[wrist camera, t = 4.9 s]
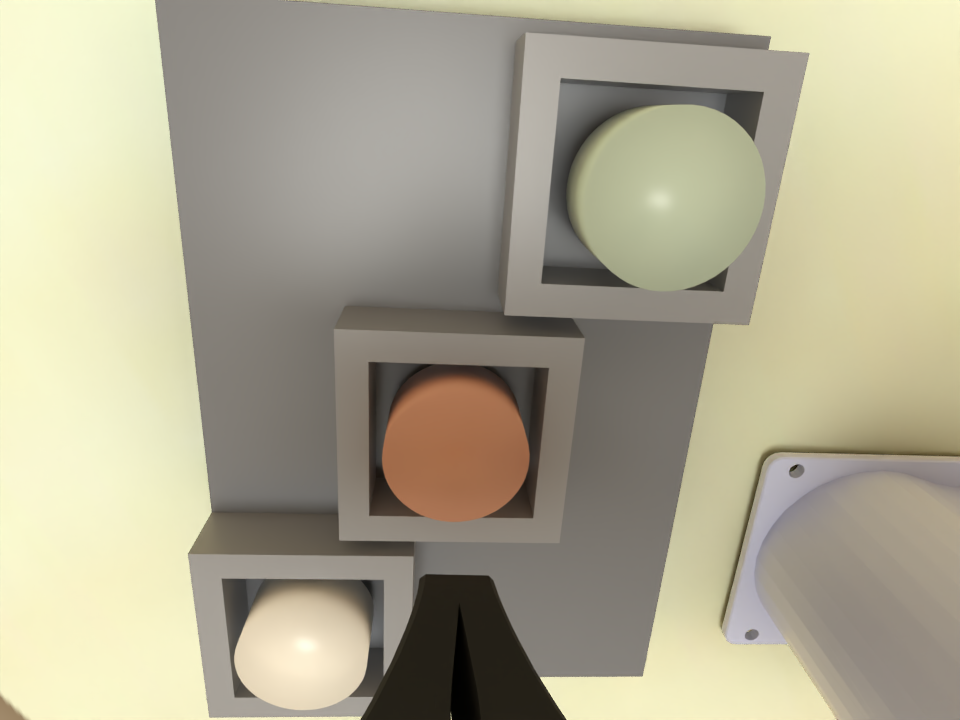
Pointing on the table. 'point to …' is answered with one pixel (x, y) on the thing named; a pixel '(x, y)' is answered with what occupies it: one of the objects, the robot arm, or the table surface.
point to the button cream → (306, 642)
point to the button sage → (666, 194)
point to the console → (437, 307)
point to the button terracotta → (455, 443)
